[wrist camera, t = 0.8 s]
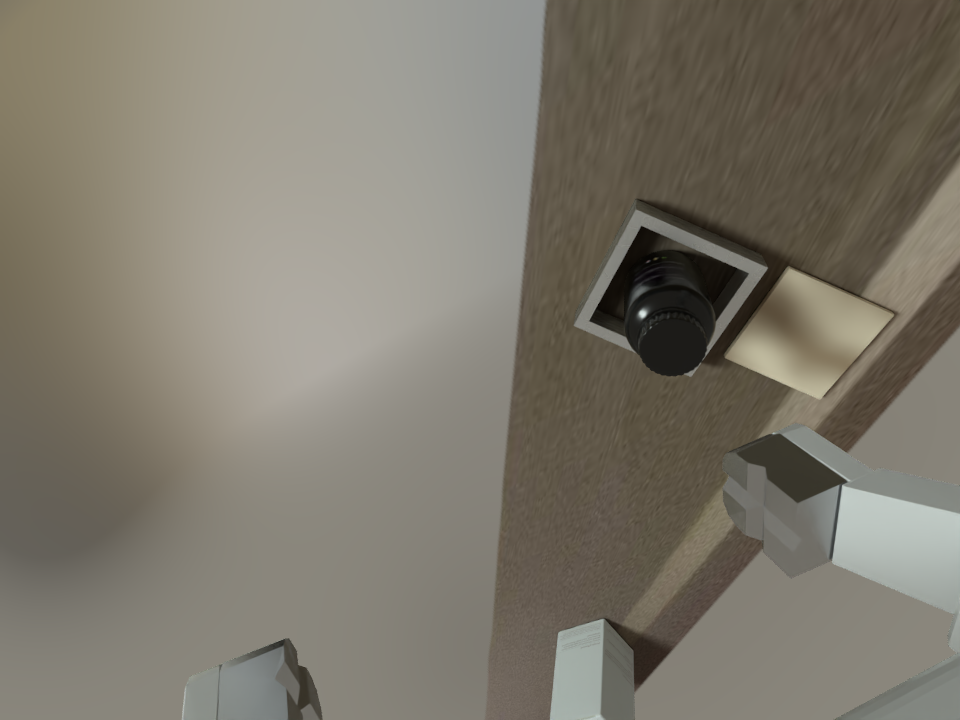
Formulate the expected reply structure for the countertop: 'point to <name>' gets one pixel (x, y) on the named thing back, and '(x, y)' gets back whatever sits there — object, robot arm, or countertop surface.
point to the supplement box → (593, 675)
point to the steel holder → (682, 232)
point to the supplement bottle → (668, 312)
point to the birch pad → (807, 333)
